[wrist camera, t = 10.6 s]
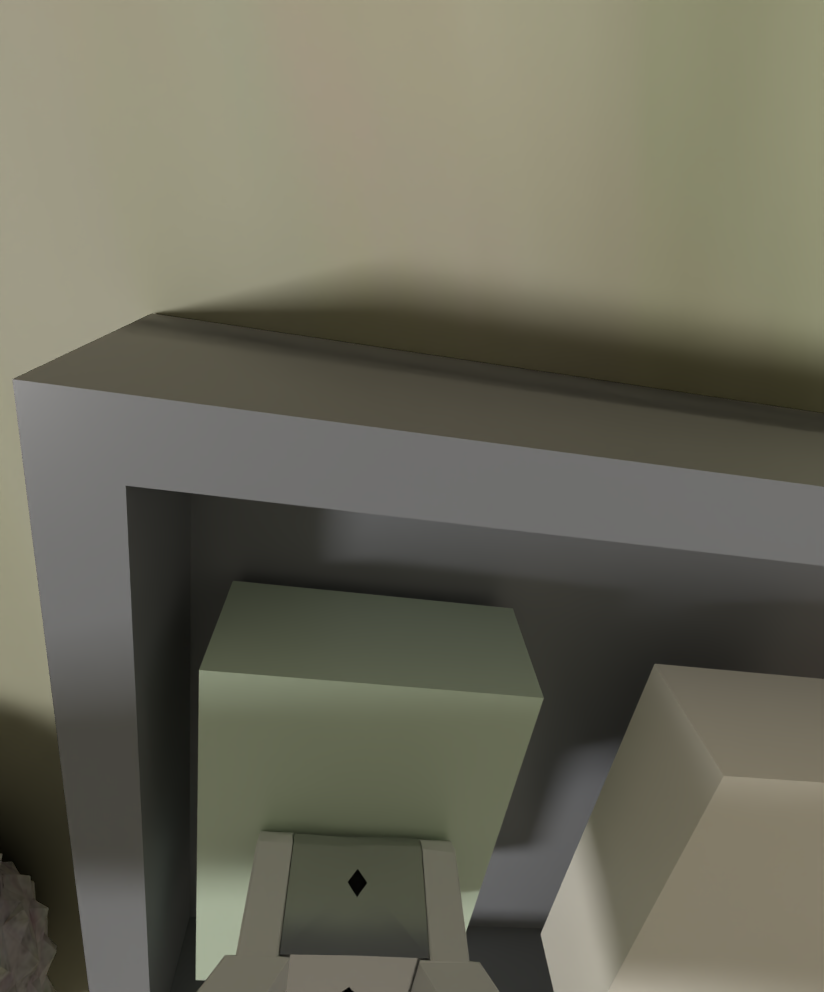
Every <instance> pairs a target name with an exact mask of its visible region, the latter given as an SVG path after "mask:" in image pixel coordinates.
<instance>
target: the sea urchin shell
mask: <svg viewBox="0 0 824 992" xmlns="http://www.w3.org/2000/svg"><path fill="white" fill-rule="evenodd" d="M1 861H2V854H1V853H0V992H56V991H55V989H54V987H53V986H52V984H51V982H50V980H49V978H48V977H47V975H46V974H47V972H48V969H49V967H50V965H51V963H52V961H53V958H54V956H55V954H56V952H57V951H56V947H57V945H56V944H55V943H54V942H53V941H52V940H51V939H50V938H49V937H48V919H47V915H48V909H49V908H48V907H46V906H44V905H43V904H41V903H39V902H37V901H36V899H35V884H34V882H33V881H31V878H30V876H28V875H20V874H19V872H18V870H17V869H16V867H15V865H14V864H13V862H1Z"/></svg>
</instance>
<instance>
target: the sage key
mask: <svg viewBox="0 0 824 992" xmlns="http://www.w3.org/2000/svg"><path fill="white" fill-rule="evenodd" d="M543 699H544V697H543V694H542V691H541V688H540V686H539V683H538V680H537V677H536V674H535V671H534V668H533V665H532V662H531V660H530V657H529V654H528V651H527V648H526V645H525V642H524V639H523V637H522V634H521V631H520V628H519V625H518V622H517V619H516V616H515V613H514V611H513V608H504V607H494V606H484V605H473V604H463V603H453V602H443V601H433V600H423V599H413V598H403V597H393V596H383V595H372V594H362V593H352V592H342V591H332V590H322V589H312V588H302V587H292V586H282V585H271V584H261V583H251V582H241V581H233V582H232V584H231V587H230V590H229V592H228V595H227V598H226V600H225V603H224V605H223V608H222V611H221V613H220V616H219V619H218V621H217V624H216V627H215V629H214V632H213V634H212V637H211V640H210V642H209V645H208V648H207V650H206V653H205V656H204V658H203V661H202V663H201V666H200V669H199V716H198V808H197V900H196V980H206V979H207V978H208V976H209V975H210V974H211V972H212V971H213V970H214V969H215V967H216V966H217V965H218V963H219V962H220V961H221V959H222V958H223V957H224V956H225V955H236V951H237V946H238V940H239V935H240V929H241V924H242V919H243V913H244V908H245V903H246V897H247V892H248V886H249V881H250V876H251V870H252V865H253V860H254V854H255V849H256V844H257V840H258V837H259V834H260V831H268V832H289V833H294V835H295V833H298V834H314V835H330V836H346V837H356V836H362V837H393V838H418V839H419V840H450V841H451V842H452V844H453V846H454V848H455V853H456V860H457V868H458V876H459V884H460V891H461V899H462V907H463V914H464V922H465V930H466V931H467V928H468V925H469V922H470V919H471V916H472V913H473V910H474V907H475V904H476V901H477V898H478V894H479V891H480V888H481V885H482V882H483V879H484V876H485V873H486V870H487V867H488V864H489V861H490V858H491V855H492V852H493V849H494V846H495V843H496V840H497V837H498V834H499V831H500V828H501V825H502V822H503V819H504V816H505V813H506V810H507V807H508V804H509V801H510V798H511V795H512V792H513V789H514V786H515V783H516V780H517V777H518V774H519V771H520V768H521V765H522V762H523V759H524V756H525V753H526V750H527V747H528V744H529V741H530V738H531V735H532V732H533V729H534V726H535V723H536V720H537V717H538V714H539V711H540V708H541V705H542V702H543ZM293 842H294V838H293ZM292 850H293V847H292Z"/></svg>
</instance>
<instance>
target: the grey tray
mask: <svg viewBox="0 0 824 992" xmlns="http://www.w3.org/2000/svg"><path fill="white" fill-rule="evenodd" d="M13 387H14V395H15V403H16V411H17V419H18V427H19V435H20V443H21V451H22V459H23V467H24V475H25V483H26V491H27V499H28V507H29V515H30V523H31V531H32V539H33V547H34V555H35V563H36V571H37V579H38V587H39V595H40V603H41V611H42V619H43V626H44V634H45V642H46V650H47V658H48V666H49V674H50V682H51V690H52V698H53V706H54V714H55V722H56V730H57V738H58V746H59V754H60V762H61V770H62V778H63V786H64V794H65V802H66V810H67V818H68V826H69V834H70V842H71V850H72V858H73V866H74V874H75V882H76V890H77V898H78V906H79V914H80V922H81V930H82V938H83V946H84V954H85V962H86V970H87V977H88V985H89V992H197V991H198V989H199V988H200V987H201V986H202V984H203V983H204V982H205V980H196V900H197V808H198V716H199V669H200V666H201V663H202V661H203V658H204V656H205V653H206V650H207V648H208V645H209V642H210V640H211V637H212V634H213V632H214V629H215V627H216V624H217V621H218V619H219V616H220V613H221V611H222V608H223V605H224V603H225V600H226V598H227V595H228V592H229V590H230V587H231V584H232V582H233V581H241V582H251V583H261V584H271V585H282V586H292V587H302V588H312V589H322V590H332V591H342V592H352V593H362V594H372V595H383V596H393V597H403V598H413V599H423V600H433V601H443V602H453V603H463V604H473V605H484V606H494V607H504V608H513V611H514V613H515V616H516V619H517V622H518V625H519V628H520V631H521V634H522V637H523V639H524V642H525V645H526V648H527V651H528V654H529V657H530V660H531V662H532V665H533V668H534V671H535V674H536V677H537V680H538V683H539V686H540V688H541V691H542V694H543V697H544V699H543V702H542V705H541V708H540V711H539V714H538V717H537V720H536V723H535V726H534V729H533V732H532V735H531V738H530V741H529V744H528V747H527V750H526V753H525V756H524V759H523V762H522V765H521V768H520V771H519V774H518V777H517V780H516V783H515V786H514V789H513V792H512V795H511V798H510V801H509V804H508V807H507V810H506V813H505V816H504V819H503V822H502V825H501V828H500V831H499V834H498V837H497V840H496V843H495V846H494V849H493V852H492V855H491V858H490V861H489V864H488V867H487V870H486V873H485V876H484V879H483V882H482V885H481V888H480V891H479V894H478V898H477V901H476V904H475V907H474V910H473V913H472V916H471V919H470V922H469V925H468V928H467V931H466V938H467V945H468V953H469V961H473V962H480V963H481V965H482V966H483V968H484V969H485V971H486V972H487V974H488V975H489V977H490V978H491V980H492V981H493V983H494V984H495V986H496V987H497V989H498V990H499V992H554V991H553V986H552V982H551V978H550V973H549V969H548V964H547V960H546V956H545V951H544V947H543V943H542V938H541V932H542V929H543V927H544V925H545V922H546V920H547V917H548V915H549V913H550V910H551V908H552V906H553V903H554V901H555V898H556V896H557V894H558V891H559V889H560V887H561V884H562V882H563V879H564V877H565V875H566V872H567V870H568V868H569V865H570V863H571V861H572V858H573V856H574V853H575V851H576V849H577V846H578V844H579V842H580V839H581V837H582V834H583V832H584V830H585V827H586V825H587V823H588V820H589V818H590V816H591V813H592V811H593V808H594V806H595V804H596V801H597V799H598V797H599V794H600V792H601V789H602V787H603V785H604V782H605V780H606V778H607V775H608V773H609V771H610V768H611V766H612V763H613V761H614V759H615V756H616V754H617V752H618V749H619V747H620V744H621V742H622V740H623V737H624V735H625V733H626V730H627V728H628V726H629V723H630V721H631V718H632V716H633V714H634V711H635V709H636V707H637V704H638V702H639V699H640V697H641V695H642V692H643V690H644V688H645V685H646V683H647V681H648V678H649V676H650V673H651V671H652V669H653V666H654V664H664V665H675V666H686V667H697V668H708V669H719V670H730V671H741V672H752V673H764V674H775V675H786V676H797V677H808V678H819V679H824V413H818V412H811V411H804V410H797V409H791V408H784V407H777V406H770V405H764V404H757V403H750V402H744V401H737V400H730V399H723V398H717V397H710V396H703V395H697V394H690V393H683V392H676V391H670V390H663V389H656V388H649V387H643V386H636V385H629V384H623V383H616V382H609V381H602V380H596V379H589V378H582V377H575V376H569V375H562V374H555V373H549V372H542V371H535V370H528V369H522V368H515V367H508V366H502V365H495V364H488V363H481V362H475V361H468V360H461V359H454V358H448V357H441V356H434V355H428V354H421V353H414V352H407V351H401V350H394V349H387V348H381V347H374V346H367V345H360V344H354V343H347V342H340V341H333V340H327V339H320V338H313V337H307V336H300V335H293V334H286V333H280V332H273V331H266V330H260V329H253V328H246V327H239V326H233V325H226V324H219V323H212V322H206V321H199V320H192V319H186V318H179V317H172V316H165V315H159V314H150V315H147V316H145V317H143V318H141V319H139V320H137V321H135V322H133V323H131V324H128V325H126V326H124V327H122V328H120V329H118V330H116V331H114V332H111V333H109V334H107V335H105V336H103V337H101V338H99V339H97V340H95V341H92V342H90V343H88V344H86V345H84V346H82V347H80V348H78V349H75V350H73V351H71V352H69V353H67V354H65V355H63V356H61V357H59V358H56V359H54V360H52V361H50V362H48V363H46V364H44V365H42V366H39V367H37V368H35V369H33V370H31V371H29V372H27V373H25V374H23V375H20V376H18V377H16V378H14V379H13Z"/></svg>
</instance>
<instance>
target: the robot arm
mask: <svg viewBox="0 0 824 992" xmlns="http://www.w3.org/2000/svg"><path fill="white" fill-rule="evenodd" d="M293 838H294V842H293ZM292 847H293V850H292ZM197 992H499V990H498V989H497V987H496V986H495V984H494V983H493V981H492V980H491V978H490V977H489V975H488V974H487V972H486V971H485V969H484V968H483V966H482V965H481V963H480V962H473V961H469V953H468V945H467V938H466V930H465V922H464V914H463V907H462V899H461V891H460V884H459V876H458V868H457V860H456V853H455V848H454V846H453V844H452V842H451V841H450V840H419V839H418V838H393V837H362V836H356V837H346V836H330V835H314V834H298V833H295V835H294V833H289V832H268V831H260V834H259V837H258V840H257V844H256V849H255V854H254V860H253V865H252V870H251V876H250V881H249V886H248V892H247V897H246V903H245V908H244V913H243V919H242V924H241V929H240V935H239V940H238V946H237V951H236V955H225V956H224V957H223V958H222V959H221V961H220V962H219V963H218V965H217V966H216V967H215V969H214V970H213V971H212V972H211V974H210V975H209V976H208V978H207V979H206V980H205V982H204V983H203V984H202V986H201V987H200V988H199V989H198V991H197Z"/></svg>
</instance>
